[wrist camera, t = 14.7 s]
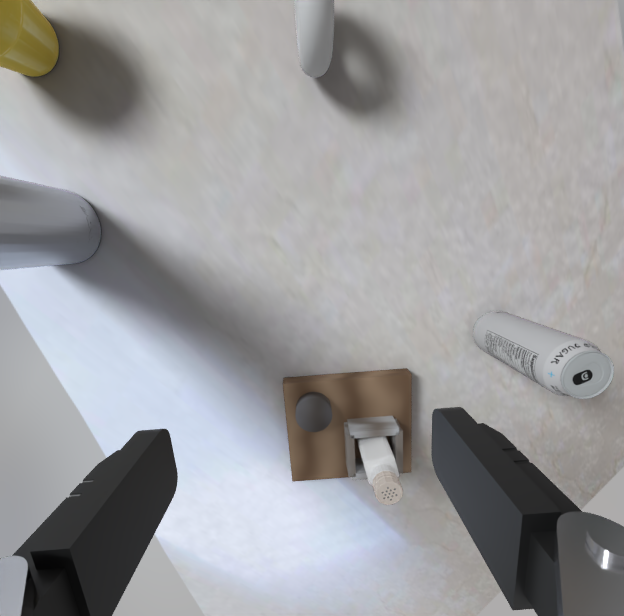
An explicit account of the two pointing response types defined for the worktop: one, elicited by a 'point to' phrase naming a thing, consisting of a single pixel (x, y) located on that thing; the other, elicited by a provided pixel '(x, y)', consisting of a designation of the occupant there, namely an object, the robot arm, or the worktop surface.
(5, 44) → the plant pot
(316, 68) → the donut
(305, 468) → the carrier board
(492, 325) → the energy drink can
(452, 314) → the worktop surface
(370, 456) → the salt shaker
